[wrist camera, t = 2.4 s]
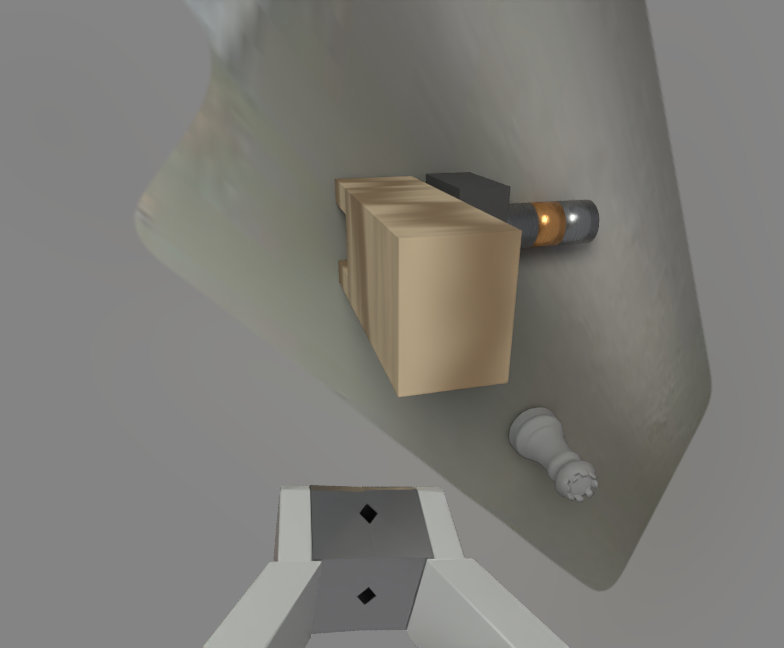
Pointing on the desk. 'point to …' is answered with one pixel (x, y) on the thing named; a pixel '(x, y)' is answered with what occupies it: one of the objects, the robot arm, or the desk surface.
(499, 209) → the black block
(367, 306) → the tall wooden block
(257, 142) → the desk surface
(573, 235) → the grey metal rod
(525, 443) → the rook chess piece
